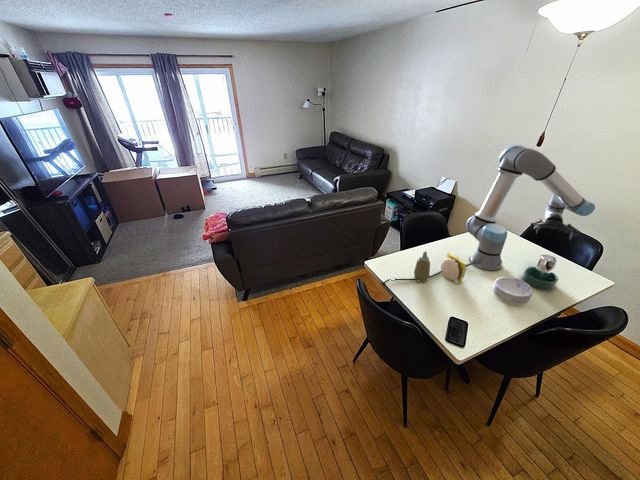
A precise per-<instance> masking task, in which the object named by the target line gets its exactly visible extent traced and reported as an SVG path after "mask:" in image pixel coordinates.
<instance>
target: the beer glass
mask: <svg viewBox="0 0 640 480" xmlns="http://www.w3.org/2000/svg"><path fill="white" fill-rule="evenodd" d="M557 262H558V259H557V258H556V257H555V256H552V255H550V254H541V255H540V256H539V258H538V260H537V262H536V264H535V267H536V269H535V274H534V276H533V278H535V279H537V280H540V281H544V282H546V279H547V277H548V276H549V275H550V274H551V272H552V273H553V271H554V270H555V267H556V264H557Z"/></svg>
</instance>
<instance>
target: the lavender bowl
mask: <svg viewBox="0 0 640 480" xmlns="http://www.w3.org/2000/svg"><path fill="white" fill-rule="evenodd" d="M492 292H493V294H495V296H496V297H497V298H498V299H499V300H500V301H502V302H504V303H505V304H508V305H513V306H519V305H525V304H528V303H529V302H530V301H531V299H532V296H533V294H534V288H532V287H531V286H530V285H528V284H527V283H526V282H524V281H523V280H522V279H519V278H517V277H512V276H501V277H497V278H496V279H495V280H494V283H493V286H492Z"/></svg>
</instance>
